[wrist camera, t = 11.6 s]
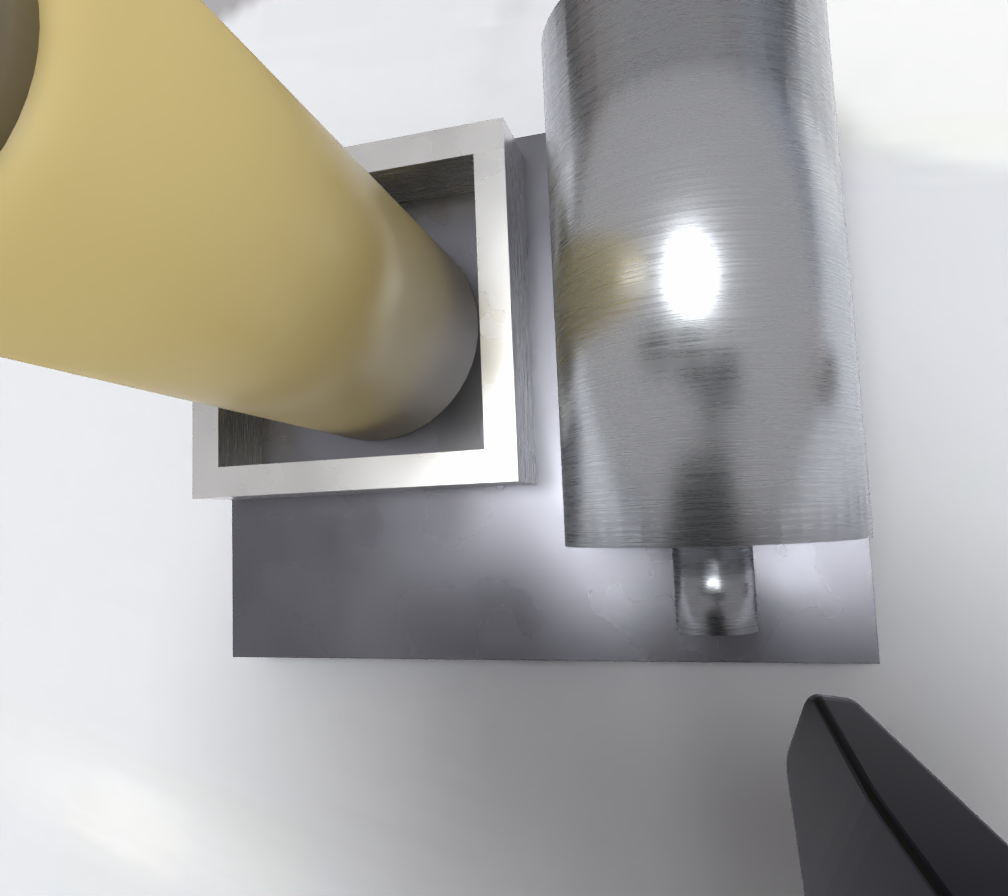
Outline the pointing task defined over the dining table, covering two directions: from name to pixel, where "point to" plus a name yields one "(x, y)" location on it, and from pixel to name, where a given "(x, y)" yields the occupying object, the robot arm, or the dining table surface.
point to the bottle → (208, 230)
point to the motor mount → (600, 379)
